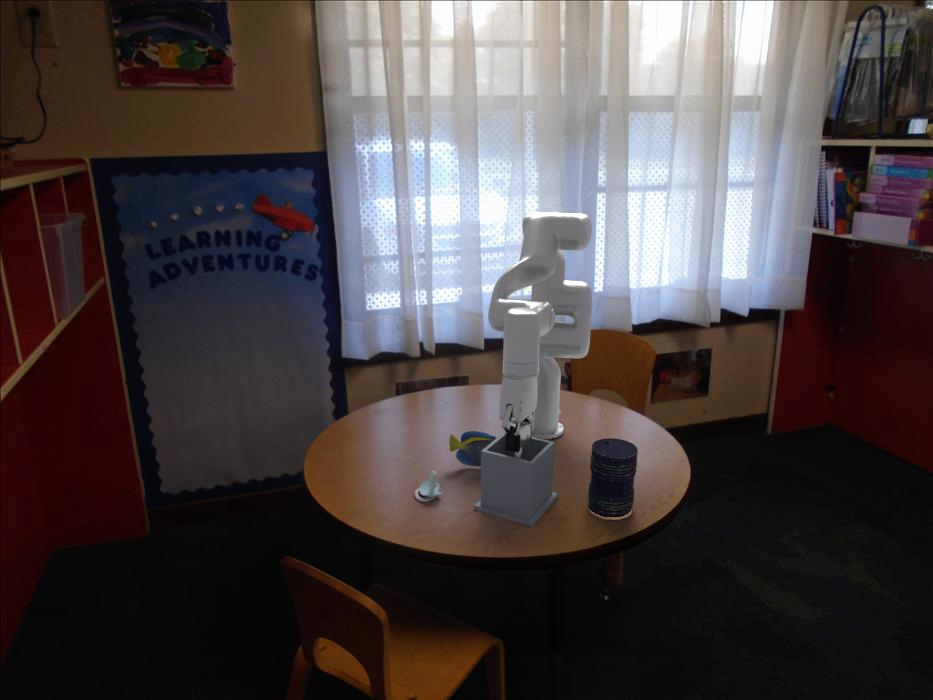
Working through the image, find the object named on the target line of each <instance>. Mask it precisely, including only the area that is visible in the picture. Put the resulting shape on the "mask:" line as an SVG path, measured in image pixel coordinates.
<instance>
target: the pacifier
mask: <svg viewBox="0 0 933 700" xmlns="http://www.w3.org/2000/svg"><path fill="white" fill-rule="evenodd" d="M437 480H438V474H437V472H436V470H431V472H430V474H429V478H428V479H426V480H424V481H422V483H421V484H420V486H419V487H418V488H417V489H416V490H415V492H414V497H415V499H416V500H417V501H419V502H423V503H426V502H430V501H431V500H435V499H436V497H439V496H442V492H440V488H441V487H440V483H439V481H437ZM419 494H420V495H421V496H424V497H421V496H420V495H419Z"/></svg>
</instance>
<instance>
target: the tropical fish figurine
mask: <svg viewBox="0 0 933 700" xmlns="http://www.w3.org/2000/svg"><path fill="white" fill-rule="evenodd" d="M496 438H498V436H494V435H491V434H489V433H487V432H483V431H478V430H468V431H464V432H463V433H461V436H460V440H459V439H458V437H456V436H454V435H453V434H450V435H449V441H448V442H449V443H448V445H449V451H450V452H455V451H456V450H457V451H456V453H455V457H456V460H458V462H459V463H461V464H462V465H465V466H470V467H481V451H482V450H483V449H484V448H485V447H487V446H488V445H489V444H490V443H492V442H493V441H494V440H495V439H496Z"/></svg>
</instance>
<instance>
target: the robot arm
mask: <svg viewBox="0 0 933 700" xmlns="http://www.w3.org/2000/svg"><path fill="white" fill-rule="evenodd" d="M592 228H593V227H592V221H591V218H590V217H589V216H588V214H585V213H569V212H568V213H567V212H545V211H544V212H533V213H528V214H527V215H525V216H524V218H523V219H522V234H523V240H522V245H521V250H520V254H519V260H518V262H517V263H515V264H513V265H512V266H510V267H509V268H508V269H506V271H505V272H504V273H502V275H500V277H498V279H497V281H496V282H495V284H494V287H493V290H492V292H491V293H492V294H491V299H490V303H489V308H488V315H487V318H488V320H487V321H488V325H489V327H490V328H491V329H492V330H493V331H495V332H497V333H502V334H503V349H502V350H503V356H502V357H503V358H502V374H503V376H502V381H501V386H500V394H499V406H498V418H499V420H502V423H501V428H503V430H504V432H505V434H506V450H510V451H514V452H519V451H520V435H519V429H520V422H521V421H524V422H527V423H529V424H530V425H531V431H530V441H531V437H535V438H539V439H543V440H552V438H553V439H555V438H558V437H560V436H562V435H563V434H564V429H565V428H564V425H563V424H562V423H560V422H559V421H560V420H559V417H560V416H559V415H560V414H561V413H562V409H561V408H560V397H561V396H560V395H561V380H562V379H561V378H562V376H561V375H562V374H561V373H562V372H561V368H560V365H559V364H558V362H557V360H555V358H567V359H583V358H585V357H587V355H588V353H589V349H590V343H591V330H592V329H591V328H592V312H593V311H592V309H593V293H592V289H591V286H590V284H588V283H587V282H584V281H580V280H566V278H565V277H566V275H565V274H566V259H565V257H564V255H563V254H562V252H561V251H562V250H563V251H582V250H584V249H585V248H586V247H587V246H588V245H589V243H590V241H591V237H592V230H593V229H592ZM528 287H531V294H530V295H531V299H523V298H521V299H520V298H509V297H510V296H511V295H512V294H514V293H515V292H517V291H519V290H522V289H525V288H528ZM556 317H563V318H564V317H566V318H567V317H568V318H571V319H572V320H573V321H572V322H571V321H558V320H556ZM513 418H515V419H513ZM511 423H514V424H516V426H515V428H514V427H513V426H511ZM562 433H563V434H562Z"/></svg>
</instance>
